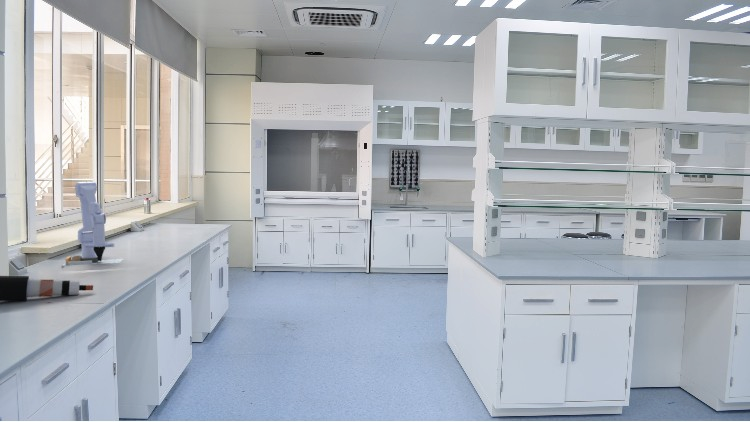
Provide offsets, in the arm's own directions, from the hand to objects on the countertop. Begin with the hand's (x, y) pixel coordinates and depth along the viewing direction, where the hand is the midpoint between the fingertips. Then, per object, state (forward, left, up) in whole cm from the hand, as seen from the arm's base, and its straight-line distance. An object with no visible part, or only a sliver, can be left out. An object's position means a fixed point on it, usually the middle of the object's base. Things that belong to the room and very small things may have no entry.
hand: (99, 260), depth 286 cm
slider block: (0, -11, 0) cm, 11 cm away
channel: (0, -3, -2) cm, 4 cm away
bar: (0, -5, -1) cm, 5 cm away
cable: (+70, -8, -2) cm, 70 cm away
